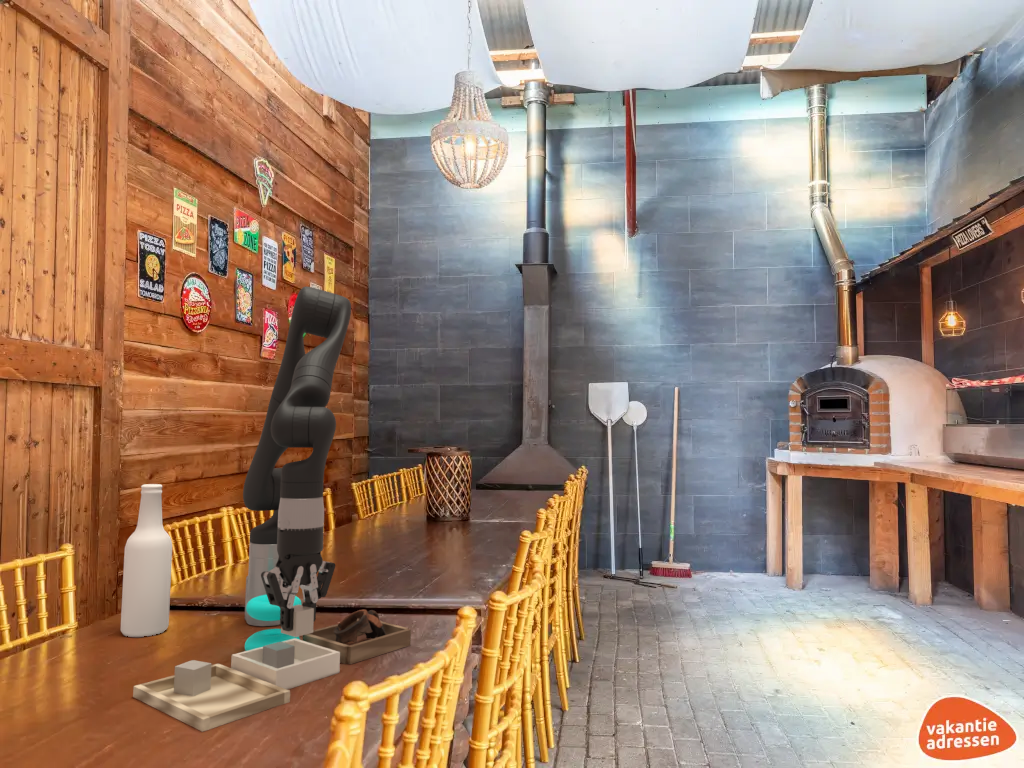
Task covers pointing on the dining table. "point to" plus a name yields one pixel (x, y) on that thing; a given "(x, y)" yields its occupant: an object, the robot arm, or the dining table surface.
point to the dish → (306, 667)
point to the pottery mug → (359, 626)
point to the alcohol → (147, 570)
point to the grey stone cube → (192, 678)
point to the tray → (214, 698)
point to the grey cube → (278, 654)
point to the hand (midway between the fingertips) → (297, 627)
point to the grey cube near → (301, 621)
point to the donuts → (266, 612)
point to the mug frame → (363, 650)
